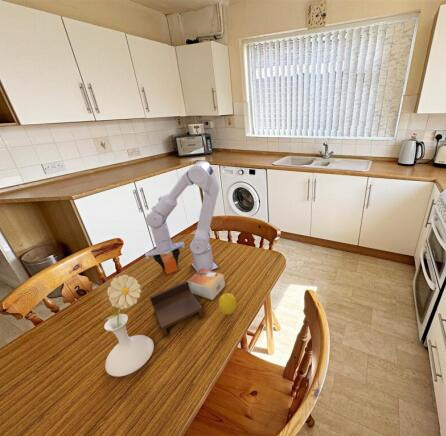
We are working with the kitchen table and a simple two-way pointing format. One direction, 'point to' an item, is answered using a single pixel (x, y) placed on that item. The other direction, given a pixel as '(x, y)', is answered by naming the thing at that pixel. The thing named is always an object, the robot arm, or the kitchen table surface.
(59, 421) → the kitchen table surface
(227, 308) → the lemon
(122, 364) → the flower in vase
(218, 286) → the small box
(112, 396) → the kitchen table surface
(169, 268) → the package
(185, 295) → the toy bench
